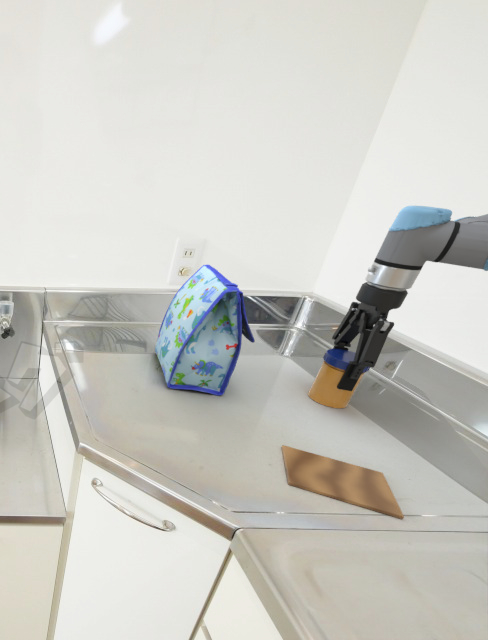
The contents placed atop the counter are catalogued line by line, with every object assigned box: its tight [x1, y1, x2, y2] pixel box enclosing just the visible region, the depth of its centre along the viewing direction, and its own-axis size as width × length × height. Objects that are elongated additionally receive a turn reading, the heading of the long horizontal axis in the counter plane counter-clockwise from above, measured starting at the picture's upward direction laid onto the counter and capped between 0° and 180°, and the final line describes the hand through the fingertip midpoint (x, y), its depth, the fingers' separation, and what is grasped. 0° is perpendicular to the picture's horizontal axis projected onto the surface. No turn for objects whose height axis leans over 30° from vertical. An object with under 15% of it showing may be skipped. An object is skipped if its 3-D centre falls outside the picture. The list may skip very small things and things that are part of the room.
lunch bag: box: [154, 264, 256, 397], centre depth 104 cm, size 22×17×26 cm
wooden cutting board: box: [281, 444, 405, 520], centre depth 76 cm, size 16×12×1 cm
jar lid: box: [322, 348, 371, 373], centre depth 96 cm, size 8×8×2 cm
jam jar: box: [307, 360, 366, 409], centre depth 99 cm, size 8×8×11 cm
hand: (336, 379), depth 99 cm, fingers closed on jar lid, 8 cm apart
